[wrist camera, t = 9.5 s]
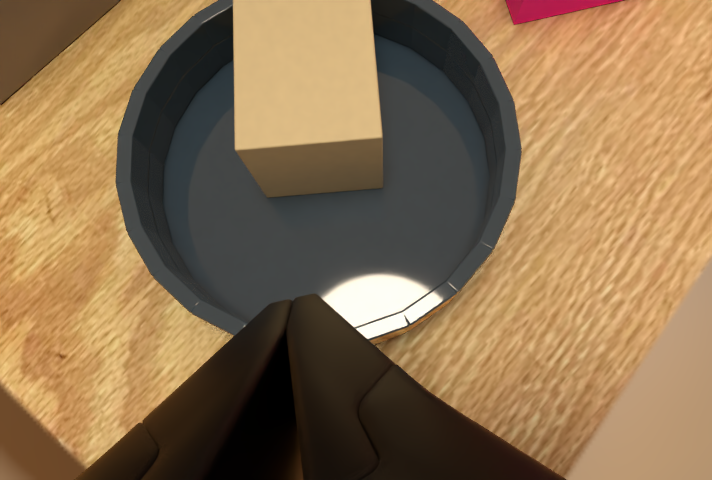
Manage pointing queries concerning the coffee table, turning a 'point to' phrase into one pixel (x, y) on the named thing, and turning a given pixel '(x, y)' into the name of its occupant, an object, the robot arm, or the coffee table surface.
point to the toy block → (548, 8)
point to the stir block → (307, 95)
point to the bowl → (322, 210)
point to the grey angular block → (40, 34)
